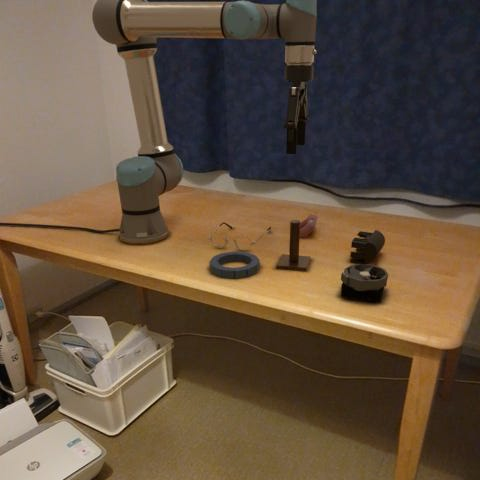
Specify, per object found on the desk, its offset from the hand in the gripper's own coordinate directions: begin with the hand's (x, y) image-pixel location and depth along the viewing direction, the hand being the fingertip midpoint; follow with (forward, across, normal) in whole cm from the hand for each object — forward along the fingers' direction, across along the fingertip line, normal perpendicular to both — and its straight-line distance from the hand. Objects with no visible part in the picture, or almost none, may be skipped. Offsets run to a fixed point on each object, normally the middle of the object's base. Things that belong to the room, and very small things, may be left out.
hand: (295, 149), depth 136 cm
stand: (+26, -21, -4) cm, 34 cm away
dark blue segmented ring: (+26, -27, +10) cm, 39 cm away
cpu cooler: (+26, -35, -24) cm, 49 cm away
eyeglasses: (+26, -6, +15) cm, 31 cm away
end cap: (+26, -13, -23) cm, 37 cm away
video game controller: (+26, +4, -4) cm, 27 cm away
